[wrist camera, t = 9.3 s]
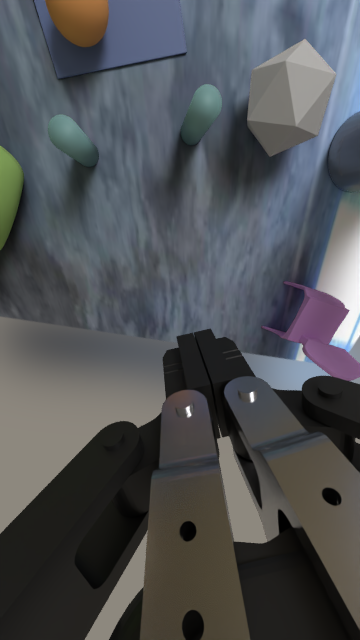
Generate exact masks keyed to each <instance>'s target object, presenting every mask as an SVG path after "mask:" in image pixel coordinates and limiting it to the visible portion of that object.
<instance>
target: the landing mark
mask: <svg viewBox="0 0 360 640" xmlns="http://www.w3.org/2000/svg"><path fill="white" fill-rule="evenodd" d="M34 2H35V5H36V9H37V12H38V15H39V19H40V22H41V25H42V28H43V32H44V35H45V38H46V41H47V45H48V48H49V51H50V55H51V58H52V61H53V64H54V68H55V71H56V74H57V77H58V79H62V78H67V77H71V76H76V75H81V74H86V73H91V72H96V71H101V70H106V69H111V68H116V67H121V66H125V65H130V64H135V63H140V62H145V61H150V60H155V59H160V58H165V57H170V56H175V55H179V54H184V53H187V50H186V43H185V35H184V28H183V21H182V14H181V6H180V0H108V6H109V19H108V25H107V29H106V32H105V34H104V36H103V38H102V39H101V40H100V41H99V42H98V43H97V44H95V45H93V46H91V47H80V46H77V45H75V44H73V43H71V42H70V41H68V40H67V39H66V38H65V37H64V36H63V35H62V34H61V33H60V31H59V30H58V29H57V27H56V26H55V24H54V22H53V21H52V19H51V17H50V14H49V12H48V9H47V6H46V2H45V0H34Z"/></svg>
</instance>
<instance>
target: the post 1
mask: <svg viewBox="0 0 360 640" xmlns="http://www.w3.org/2000/svg"><path fill="white" fill-rule="evenodd" d="M48 134H49V137H50V140H51V141H52V143H53V144H54V145H55V146H56V147H57V148H58V149H60V150H61V151H63V152H64V153H66V154H67V155H69V156H70V157H72V158H73V159H75V160H76V161H78V162H79V163H81V164H82V165H84V166H86V167H92V166H94V165H95V164H96V163H97V162H98V159H99V153H98V150H97V148H96V146H95V145H94V144H93V143H92V142H91V140H90V139H89V138H88V137H87V136H86V135H85V133H84V132H83V131H82V130H81V129H80V128H79V126H78V125H77V124H76V123H75V122H74V121H73V120H72V119H71V118H70V117H68V116H66V115H56V116H54V117H53V118H52V119H51V120H50V122H49V125H48Z"/></svg>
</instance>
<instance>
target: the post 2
mask: <svg viewBox="0 0 360 640" xmlns="http://www.w3.org/2000/svg"><path fill="white" fill-rule="evenodd" d="M221 108H222V98H221V95H220V93H219V91H218V90H217V88H216V87H214V86H213V85H209V84H205V85H202V86H201V87H199V88H198V89H197V90H196V92H195V94H194V96H193V99H192V101H191V104H190V106H189V109H188V111H187V114H186V117H185V119H184V122H183V124H182V127H181V137H182V139H183V141H184V142H185V143H186V144H188V145H195V144H197V143H198V142H199V141H200V140H201V138H202V137H203V136H204V134H205V133H206V131H207V130H208V129H209V127H210V126H211V125H212V123H213V122H214V121H215V119H216V118H217V117H218V115H219V113H220V111H221Z"/></svg>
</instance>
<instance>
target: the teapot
mask: <svg viewBox="0 0 360 640" xmlns="http://www.w3.org/2000/svg"><path fill="white" fill-rule="evenodd" d="M23 182H24V173H23V170H22V168H21V166H20V164H19V163H18V161H17V160H16V159H15V158H14V157H13V156H12V155H11V154H10V153H9V152H8V151H6V150H5V149H4V148H3V147H2V146H0V250H1V249H2V248H3V246H4V244H5V242H6V240H7V238H8V236H9V233H10V230H11V228H12V225H13V222H14V219H15V216H16V213H17V209H18V206H19V202H20V197H21V193H22V188H23Z"/></svg>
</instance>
